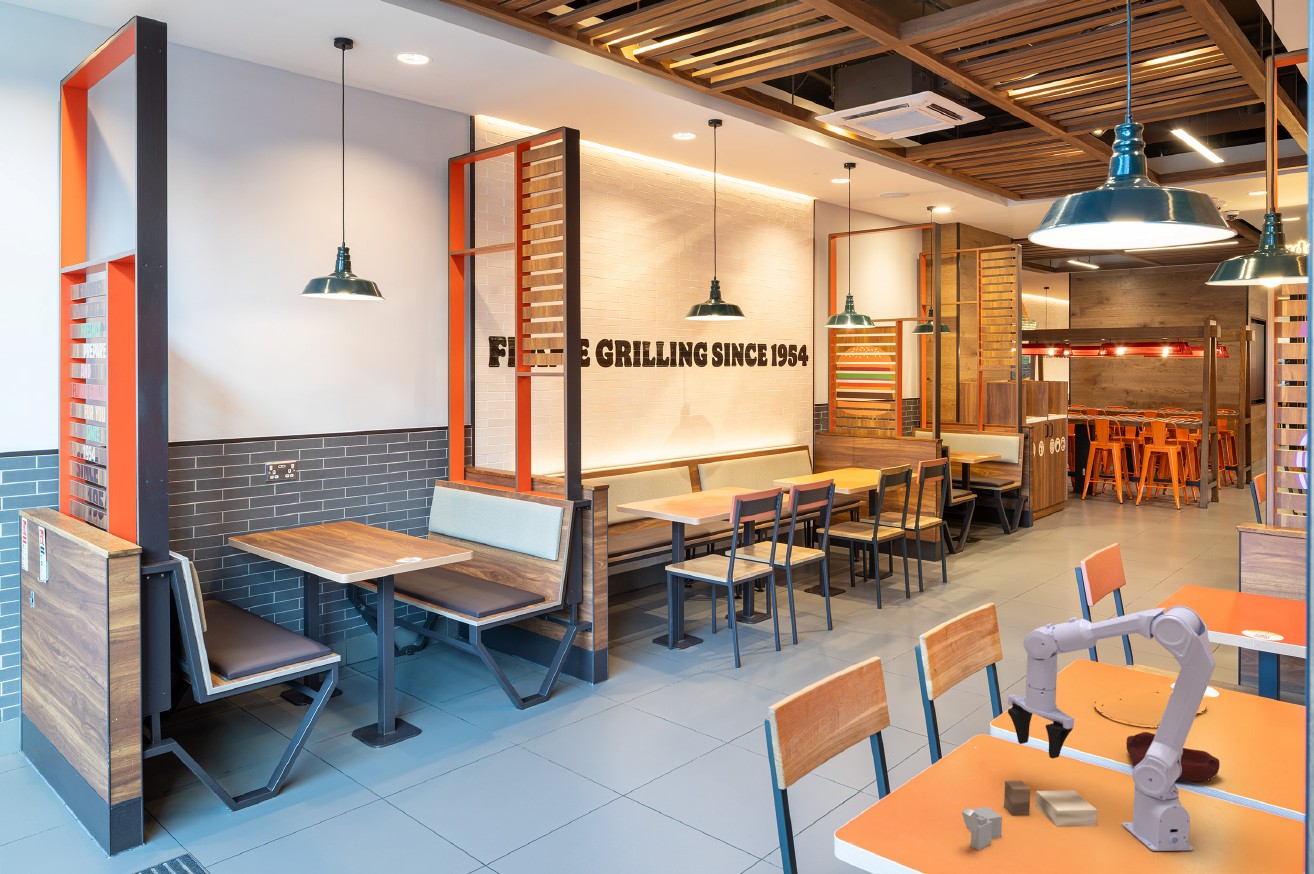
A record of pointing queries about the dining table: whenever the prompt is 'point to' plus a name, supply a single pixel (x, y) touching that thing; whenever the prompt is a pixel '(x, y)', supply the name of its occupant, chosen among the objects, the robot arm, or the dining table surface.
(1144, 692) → the dining table surface
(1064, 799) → the birch block
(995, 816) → the grey block
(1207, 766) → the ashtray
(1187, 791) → the dining table surface
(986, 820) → the lighter
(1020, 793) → the walnut block
